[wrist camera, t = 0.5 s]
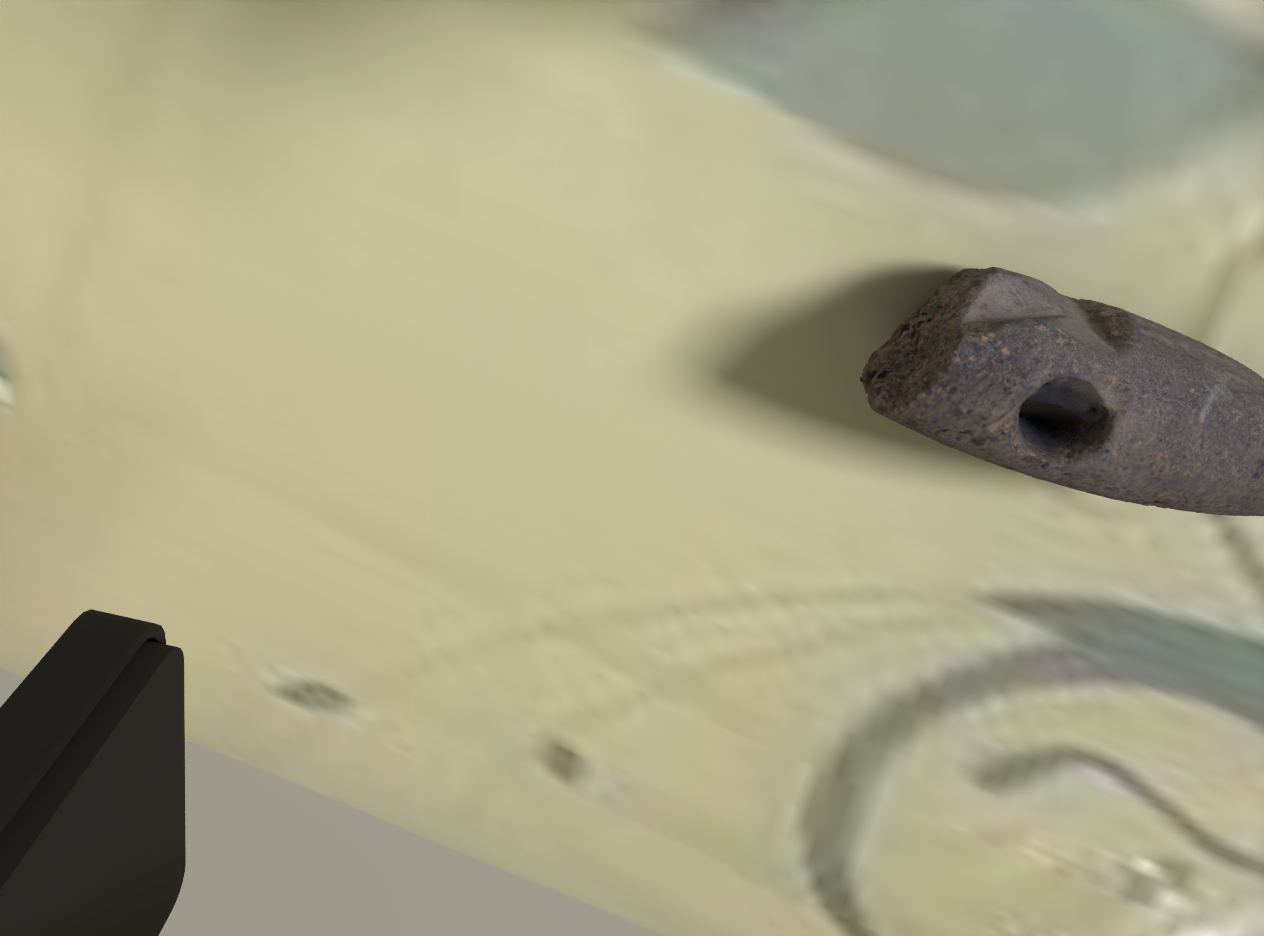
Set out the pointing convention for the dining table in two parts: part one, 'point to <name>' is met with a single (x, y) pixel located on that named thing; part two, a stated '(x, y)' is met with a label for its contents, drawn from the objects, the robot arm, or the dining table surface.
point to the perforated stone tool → (1075, 395)
